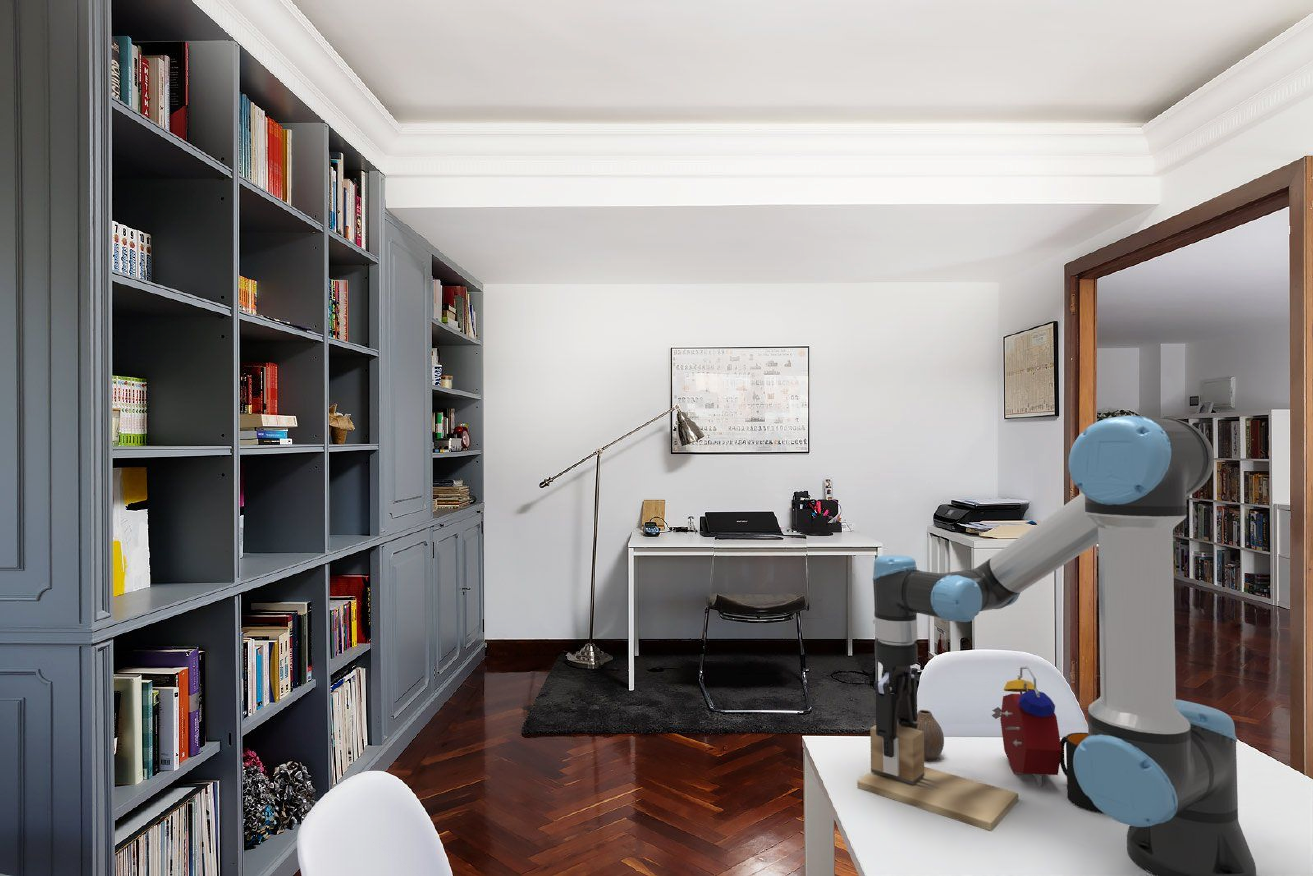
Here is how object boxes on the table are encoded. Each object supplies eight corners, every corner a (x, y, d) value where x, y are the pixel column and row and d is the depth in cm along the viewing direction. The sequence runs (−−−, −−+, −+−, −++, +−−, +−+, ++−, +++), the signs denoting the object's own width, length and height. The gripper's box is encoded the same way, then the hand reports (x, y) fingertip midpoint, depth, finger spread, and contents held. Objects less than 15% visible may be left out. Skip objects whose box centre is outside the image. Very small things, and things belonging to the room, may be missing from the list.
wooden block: (924, 775, 132) (923, 731, 132) (913, 785, 128) (912, 739, 128) (882, 763, 137) (882, 720, 137) (870, 771, 134) (870, 728, 134)
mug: (1080, 780, 133) (1079, 723, 133) (1135, 811, 121) (1134, 748, 121) (1041, 784, 131) (1039, 727, 132) (1093, 816, 119) (1091, 752, 120)
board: (1018, 800, 125) (1018, 793, 125) (991, 831, 115) (991, 823, 115) (891, 763, 141) (891, 757, 141) (857, 787, 131) (857, 781, 131)
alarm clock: (1064, 793, 128) (1061, 678, 128) (1012, 790, 129) (1009, 677, 130) (1034, 759, 142) (1031, 656, 143) (987, 756, 144) (985, 655, 144)
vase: (908, 761, 142) (907, 715, 142) (906, 747, 149) (905, 704, 149) (945, 765, 140) (944, 719, 140) (942, 751, 147) (941, 707, 147)
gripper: (897, 628, 143) (899, 748, 142) (853, 646, 129) (855, 778, 129) (935, 634, 138) (937, 758, 137) (893, 653, 124) (896, 791, 124)
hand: (898, 768), depth 133 cm, fingers closed on wooden block, 5 cm apart
